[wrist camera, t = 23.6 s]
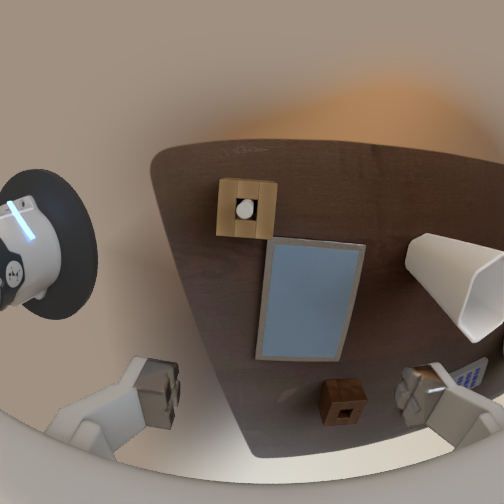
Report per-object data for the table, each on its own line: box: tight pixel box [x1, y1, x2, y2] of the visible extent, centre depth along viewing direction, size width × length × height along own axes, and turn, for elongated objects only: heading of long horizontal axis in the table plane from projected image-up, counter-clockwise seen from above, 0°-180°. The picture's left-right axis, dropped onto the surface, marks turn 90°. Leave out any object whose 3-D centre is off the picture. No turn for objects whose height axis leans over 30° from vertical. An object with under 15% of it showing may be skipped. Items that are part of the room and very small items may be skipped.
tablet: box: [255, 236, 366, 362], centre depth 41 cm, size 14×20×1 cm
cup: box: [405, 233, 504, 343], centre depth 31 cm, size 11×10×17 cm
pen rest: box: [216, 178, 278, 240], centre depth 35 cm, size 6×6×6 cm
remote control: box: [449, 357, 489, 390], centre depth 47 cm, size 8×23×2 cm, turn 101°
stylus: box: [236, 199, 254, 219], centre depth 31 cm, size 1×1×14 cm
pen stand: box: [318, 379, 367, 426], centre depth 44 cm, size 6×6×6 cm
